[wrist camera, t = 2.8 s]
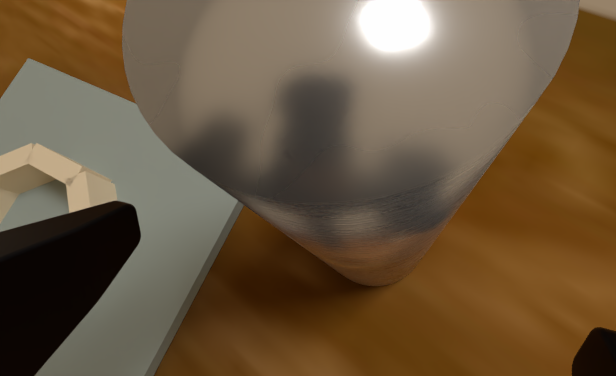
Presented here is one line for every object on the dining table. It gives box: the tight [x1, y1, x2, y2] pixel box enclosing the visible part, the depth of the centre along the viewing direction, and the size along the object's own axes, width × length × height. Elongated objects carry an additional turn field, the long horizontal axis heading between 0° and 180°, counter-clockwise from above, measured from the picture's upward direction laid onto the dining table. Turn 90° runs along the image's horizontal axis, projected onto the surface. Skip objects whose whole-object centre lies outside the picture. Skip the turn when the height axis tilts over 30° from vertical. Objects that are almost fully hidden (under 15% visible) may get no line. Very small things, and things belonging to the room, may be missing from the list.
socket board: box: [0, 58, 244, 376], centre depth 18 cm, size 16×16×3 cm
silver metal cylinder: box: [122, 0, 580, 286], centre depth 10 cm, size 4×4×14 cm
